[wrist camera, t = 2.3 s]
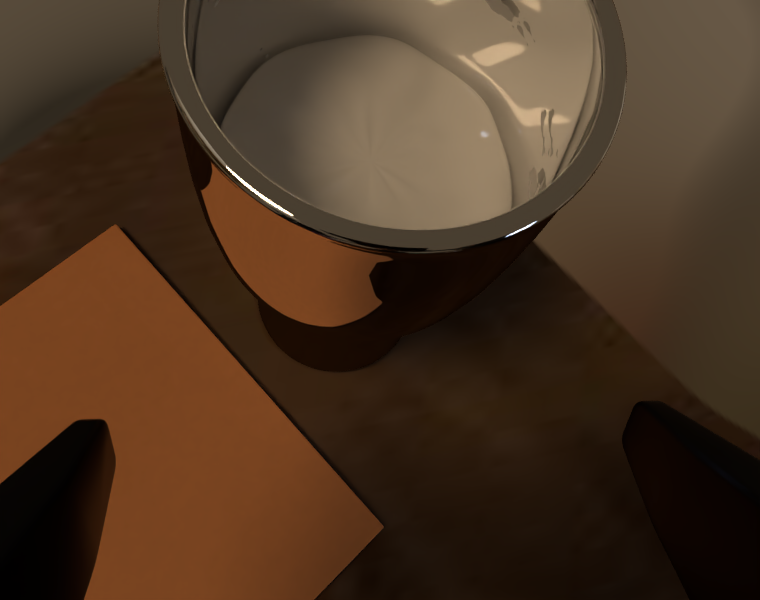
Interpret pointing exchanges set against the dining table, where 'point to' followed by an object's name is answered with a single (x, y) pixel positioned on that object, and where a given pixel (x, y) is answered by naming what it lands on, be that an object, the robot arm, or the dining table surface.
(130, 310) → the cloth
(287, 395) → the dining table surface
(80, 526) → the robot arm
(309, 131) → the beer glass
